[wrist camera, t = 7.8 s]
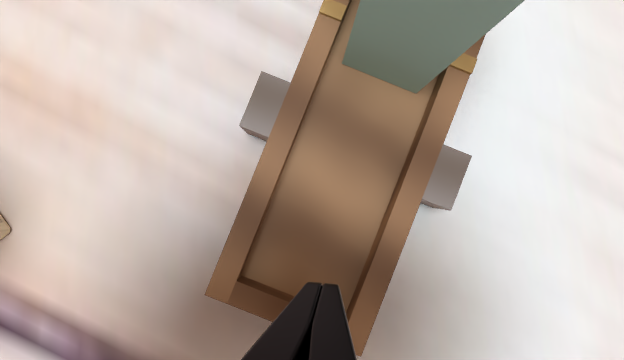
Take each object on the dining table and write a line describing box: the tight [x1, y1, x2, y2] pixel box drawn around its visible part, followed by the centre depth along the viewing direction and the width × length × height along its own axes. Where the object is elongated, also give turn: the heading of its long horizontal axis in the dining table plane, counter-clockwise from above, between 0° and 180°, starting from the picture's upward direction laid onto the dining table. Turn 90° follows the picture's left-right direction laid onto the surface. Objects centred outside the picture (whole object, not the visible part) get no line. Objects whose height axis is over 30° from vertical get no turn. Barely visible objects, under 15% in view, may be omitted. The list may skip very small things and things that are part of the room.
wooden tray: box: [205, 0, 486, 357], centre depth 18 cm, size 20×12×3 cm, turn 158°
